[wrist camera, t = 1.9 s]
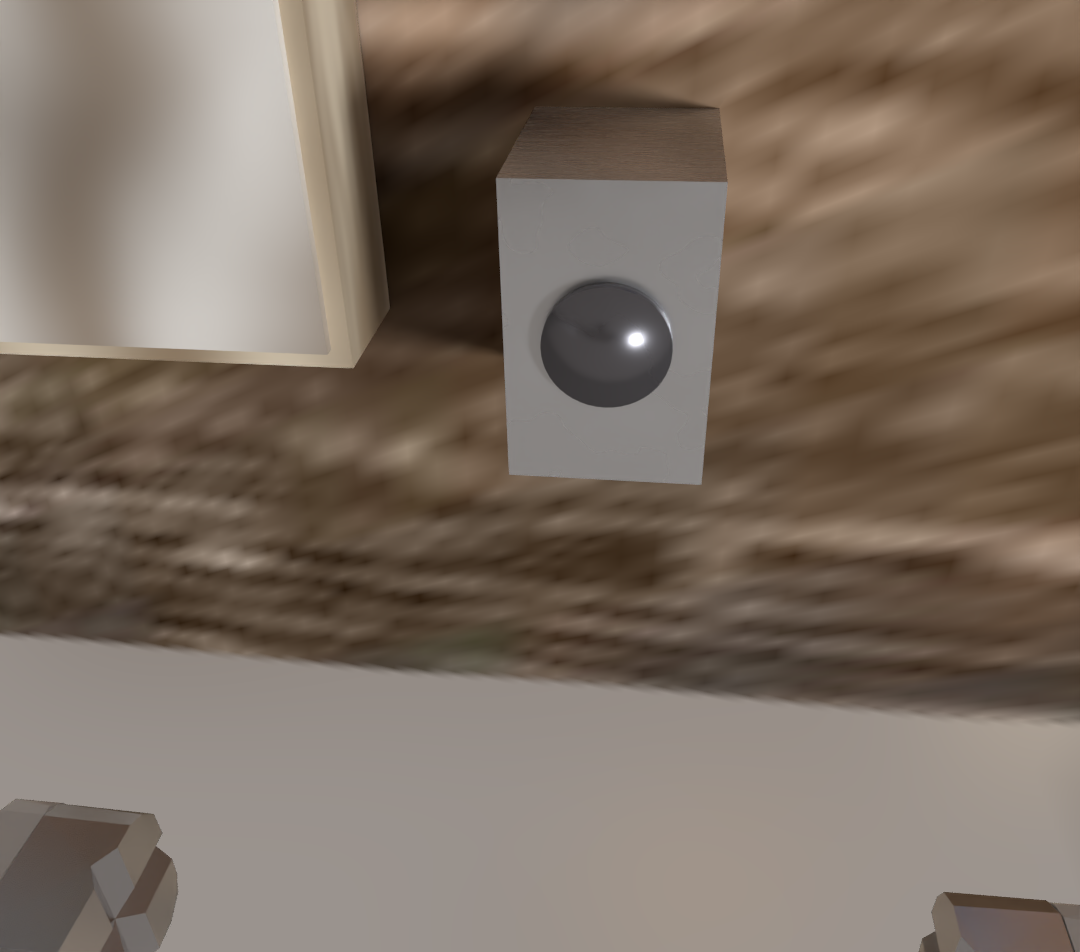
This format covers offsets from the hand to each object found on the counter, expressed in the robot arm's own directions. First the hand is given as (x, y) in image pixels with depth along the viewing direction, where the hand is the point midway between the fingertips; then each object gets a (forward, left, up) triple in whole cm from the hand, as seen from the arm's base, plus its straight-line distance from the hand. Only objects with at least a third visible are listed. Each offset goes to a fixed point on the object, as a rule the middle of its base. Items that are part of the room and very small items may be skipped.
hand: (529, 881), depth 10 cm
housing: (0, 0, -19) cm, 19 cm away
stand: (-12, +4, -19) cm, 23 cm away
